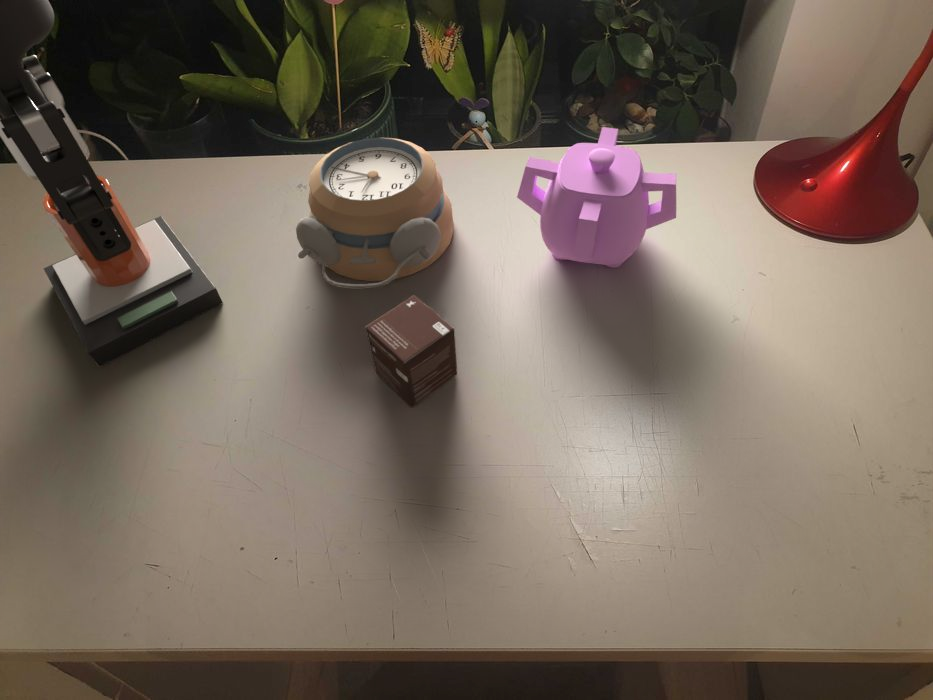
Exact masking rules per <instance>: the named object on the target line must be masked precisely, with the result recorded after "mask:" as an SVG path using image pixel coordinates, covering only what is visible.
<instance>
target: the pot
mask: <svg viewBox="0 0 933 700" xmlns="http://www.w3.org/2000/svg"><path fill="white" fill-rule="evenodd" d="M618 136H619V128H613V127H608V126H607V127H606V126H602V127H601V130H600V134H599V136H598V141H597V143H596V142H577V143H575V144H573V145H572V146H570V147H569V148H568V149H567V150H566V152H565V153H564V155H563V157H562V158H561V160H560V161H559V162H558V161H553V160H549V159H543V158H538V157H533V156H529V157H528V160H527V162H526V165H525V167H524V171H523V175H522V178H521V181H520V185H519V189H518V192H517V196H516V199H518V200H519V201H520V202H522V203H524V204H525V205H526V206H528V207H529V209H532V210H533V211H534V212H535V213H537V215H539V216H540V217H539V218H540V220H539V225H540V226H539V227H540V234H541V238H542V241H543V243H544V245H545V246H546V248H547V250H548V251H550V253H551V254H552V257H553V258H554V259H556V260H558V261H567V260H569V261H575V262H580V263H585V264H586V263H587V264H595V265H596V264H597V265H605V266H606V267H609V268H619V267H620V266H622V264H623V263H624V262H625V261H626V260H628V259H629V258H630V257H631V256H632V255H633V254H634V253H635V252H636V251H637V250H638V248H639V246H640V245H641V243H642V241H643V238H644V236H645V235H646V231H647V230H649V229H651V228H653V227H656V226H659V225H661V224H662V225H663V224H664V223H666V222H669V221H672V220H675V219H676V218H677V173H666V172H645V170H644V166H643V163H642V159H641V157H640V155H639V153H638V152H637V151H636V150H634V149H633V148H630V147H626V146H621V145H617V142H618ZM538 177H540V178H544V179H546V180H549V181H548V185H547V187H546V190H544V189H543V188H541V187H540V186H538V185H537V181H538ZM649 192H661V199H660V200H659V201H656V202H654V203H651V204H650V198H649Z"/></svg>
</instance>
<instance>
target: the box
mask: <svg viewBox="0 0 933 700" xmlns="http://www.w3.org/2000/svg"><path fill="white" fill-rule="evenodd" d="M364 328H365V331H366V334H367V339H368V343H369V347H370V352H371V356H372V361H373V364H374V370H375V373H376V375H377V376H378V377H380V379H381V380H382V381H383V382H384V383H385V384H386V385H387V386H388V387H389V388H390V389H391V390H392V391H393V392H394V393H395V395H397V396H399V397H400V398H401V400H403V401H404V402H405V403H406V404H407V405H408V406H409V407H410V408H415V407H417V406H418V405H419V404H420V403H422V402H423V401H424V400H426V399H427V398H428V397H429V396H431V395H432V394H434V393H435V392H436V391H437V390H439V389H441V387H443V386H444V385H446V384H447V383H449V382H450V381H451V380H453V379H454V378H455V377H456V376H458V366H457V365H458V364H457V351H456V349H457V348H456V336H455V328H454V327H453V326H452V325H451V324H450V323H449V322H447V321H446V320H445V319H443V317H441V316H440V315H439V314H438V313H437V312H436V310H435V309H433V308H432V307H430V306H428V305H427V304H426V303H425V302H423V301H422V300H421V299H420V298H419V297H417V296H416V295H415V294H413V295H411V296H409V297H408V298H406V299H405V300H403V301H402V302H400V303H398V304H397V305H396V306H394V307H393V308H391V309H390V310H388V311H387V312H385V313H384V314H382V315H381V316H379V317H377V318H376V319H374V320H373V321H371V322H370V323H369V324H367V325H365V327H364Z"/></svg>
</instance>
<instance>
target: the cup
mask: <svg viewBox="0 0 933 700" xmlns="http://www.w3.org/2000/svg"><path fill="white" fill-rule="evenodd" d="M96 176H97V177H98V179H99V181H100V183H101V184H103V186H104V187H105V189H106V191H107V190H108V191H109V193H110V194H111V196H112V198H113V199H111V201H112V203H113V205H114V206H113V207H111V209H112V211H113V213H114V214H115V216H116V218H117V219H118V221H119V223H120V224H121V226H122V228H123V230H124V231H125V233H126V235H127V236H128V238H129V240H130V241H131V248H130V249H129V250H128V251H126V252H124V253H122V254H120V255H118V256H115V257H113V258H111V259H109V260H107V261H98V260H96V259H95V258H94V256H93V255H92V253H91V252H90V250H89V249H88V247H87V246H86V244H85V243H84V241H83V240H82V238H81V237H80V235H79V234H78V232H77V231H76V229H75V227H74V226H73V224H71V225H69V224H68V223H67V221H66V220H65V219H64V220H62V219H61V217H60V216H59V214H58V213H57V210H56V208H55V206H54V205H53V204H55V203H54V202H53V200H52V199H51V197H50V196H49V194H48V193H47V192H46V194H44V198H43V201H42V205H43V208H44V210H45V211H46V213H47V215H48V216H49V218H50V219H51V220H52V222H53V223H54V225H55V226H56V228H57V229H58V231H59V232H60V233H61V235H62V236H63V238H64V240H65V241H66V242H67V244H68V245H69V246H70V249H72V251H73V252H74V255H75V254H76V255H77V257H78V258H79V260H80V261H81V262H82V264H83V265H84V267H85V268H86V270H87V271H88V273H89V274H90V276H91V277H92V278H93V279H94V281H95V282H96V283H98V284H100V285H102V286H107V287H115V286H121V285H125V284H128V283H130V282H132V281H134V280H136V279H137V278H139V277H140V276H141V275H143V274H144V273H145V272H146V270H147V269H148V267H149V265H150V262H151V258H150V255H149V253H148V251H147V250H146V248H145V246H144V244H143V243H142V241H141V239H140V237H139V236H138V234H137V232H136V230H135V227H134V225H133V224H132V222H131V219H130V218H129V216H128V215H127V213H126V211H125V209H124V207H123V205H122V203H121V202H120V200H119V198H118V197H117V195H116V194H115V191H114V190H113V188H112V186H111V184H110V183H109V181H108V179H107V178H105V177H103V176H100V175H98V174H96ZM86 183H88V182H86ZM61 195H62V193H61Z"/></svg>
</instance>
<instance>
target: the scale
mask: <svg viewBox="0 0 933 700" xmlns="http://www.w3.org/2000/svg"><path fill="white" fill-rule="evenodd" d="M134 228H135V230H136V232H137V234H138V236H139V237H140V239H141V241H142V243H143V244H144V246H145V248H146V250H147V251H148V253H149V255H150V258H151V262H150V265H149V267H148V269H147V270H146V272H145V273H144V274H143V275H141V276H140V277H139V278H137V279H136V280H134V281H132V282H130V283H128V284H125V285H121V286H115V287H107V286H102V285H100V284H98V283H96V282H95V281H94V279H93V278H92V277H91V276H90V274H89V273H88V271H87V270H86V268H85V267H84V265H83V264H82V262H81V261H80V260H79V258H78V257H77V255H76V254H75V253H74V254H72V255H70V256H68V257H66V258H63V259H61V260H59V261H57V262H55V263H53V264H50V265H48V266H45V267H44V268H43V271H44V273H45V274H46V276H47V278H48V280H49V282H50V284H51V285H52V287H53V290H54V291H55V293H56V295H57V297H58V299H59V301H60V303H61V305H62V307H63V309H64V311H65V312H66V314H67V316H68V318H69V320H70V322H71V324H72V325H73V328H74V330H75V331H76V334H77V335H78V337H79V339H80V341H81V343H82V345H83V347H84V348H85V350H86V353H87V354H88V355H89V357H91V359H92V360H93V362H94V363H95V364H96V366H97V367H98V368H100V367H102V366H104V365H106V364H108V363H110V362H112V361H114V360H116V359H118V358H120V357H122V356H124V355H126V354H127V353H129V352H131V351H133V350H135V349H137V348H139V347H141V346H143V345H145V344H146V343H147V344H148V342H151V341H153V340H154V339H156V338H159V337H161V336H162V335H164V334H166V333H168V332H170V331H172V330H174V329H176V328H178V327H180V326H182V325H184V324H186V323H187V322H189V321H191V320H193V319H195V318H197V317H199V316H201V315H203V314H205V313H208V311H211V310H212V309H215V308H216V307H218V306H220V305H222V304H224V302H223V300H222V298H221V296H220V294H219V292H218V289H217V288H216V286H215V285H214V284H213V282H212V281H211V280H210V278H209V277H208V276H207V274H206V273H205V272H204V270H203V269H202V268H201V267H200V265H199V264H198V263H197V261H196V259H194V257H193V256H192V254H190V252H189V251H188V250H187V248H186V247H185V245H184V244H183V242H182V241H181V240H180V239H179V237H178V236H177V234H176V233H175V232H174V231H173V229H172V228H171V227H170V225H169V224H168V223H167V222H166V220H165V219H164V218H163V216H161V215H159V216H157V217H155V218H153V219H151V220H148V221H146V222H143V223H142V224H139V225H137V226H135V227H134Z"/></svg>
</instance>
